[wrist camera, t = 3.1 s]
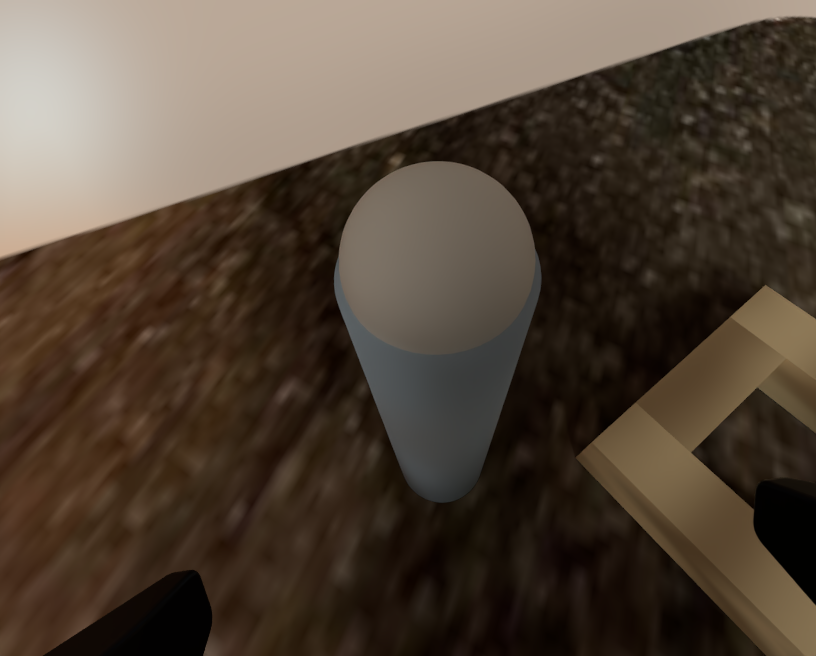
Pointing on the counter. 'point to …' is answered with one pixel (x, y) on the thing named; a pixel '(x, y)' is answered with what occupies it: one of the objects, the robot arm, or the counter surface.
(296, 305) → the counter surface
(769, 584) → the wooden square frame
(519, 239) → the blue-grey cylinder
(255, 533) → the counter surface
